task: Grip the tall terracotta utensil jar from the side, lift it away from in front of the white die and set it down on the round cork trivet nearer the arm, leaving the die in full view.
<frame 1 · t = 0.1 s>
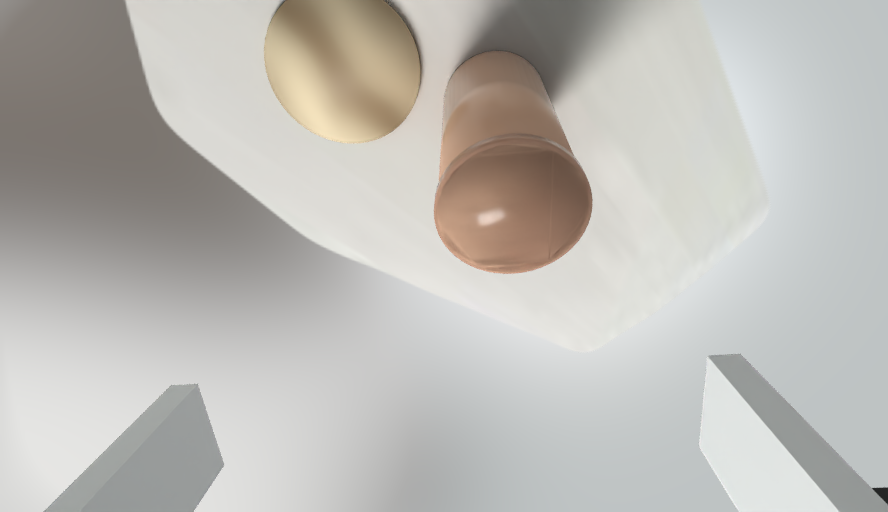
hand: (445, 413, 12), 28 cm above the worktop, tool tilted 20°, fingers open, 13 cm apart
trivet: (344, 69, 34), on the worktop
jar: (494, 103, 35), on the worktop
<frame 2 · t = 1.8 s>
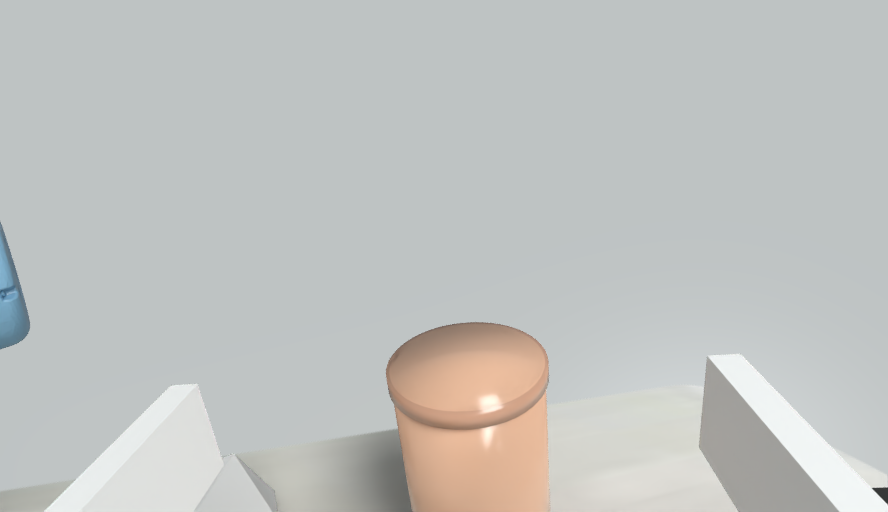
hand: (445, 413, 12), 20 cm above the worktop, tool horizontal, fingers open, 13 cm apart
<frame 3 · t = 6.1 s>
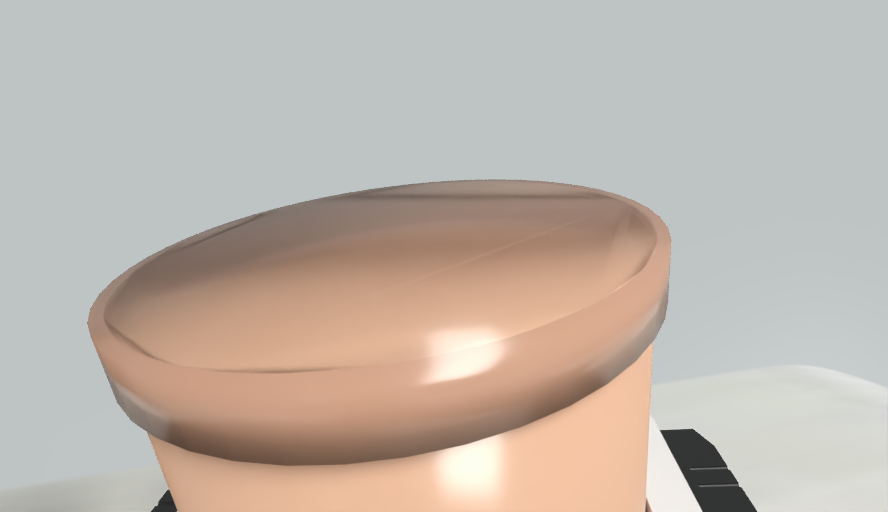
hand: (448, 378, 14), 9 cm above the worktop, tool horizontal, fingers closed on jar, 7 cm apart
when the fingers open (10 cm above the worktop, at t = 9.8 s): jar drops 1 cm, resting on trivet.
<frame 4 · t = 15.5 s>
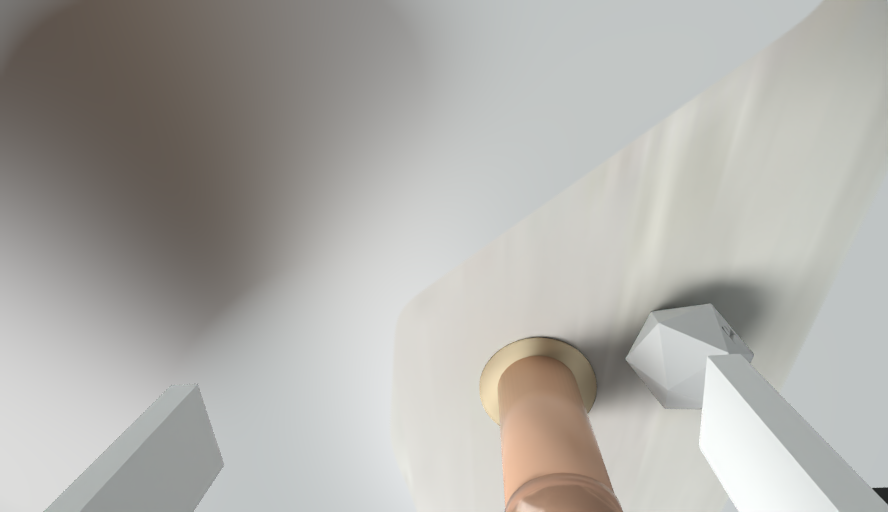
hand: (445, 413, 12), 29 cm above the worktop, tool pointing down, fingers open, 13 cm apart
trivet: (537, 387, 46), on the worktop
die: (668, 332, 43), on the worktop
jar: (537, 389, 45), resting on trivet
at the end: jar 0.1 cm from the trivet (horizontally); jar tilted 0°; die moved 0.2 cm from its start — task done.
